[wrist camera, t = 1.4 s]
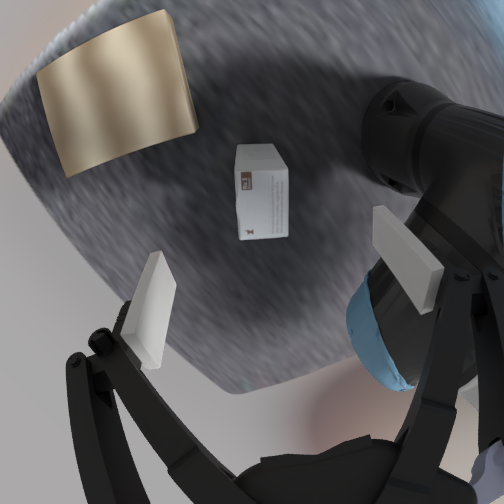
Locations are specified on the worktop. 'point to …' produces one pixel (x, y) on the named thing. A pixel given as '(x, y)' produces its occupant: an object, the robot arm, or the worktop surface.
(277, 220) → the skincare box
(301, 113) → the worktop surface
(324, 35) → the worktop surface
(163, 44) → the base block
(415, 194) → the robot arm
